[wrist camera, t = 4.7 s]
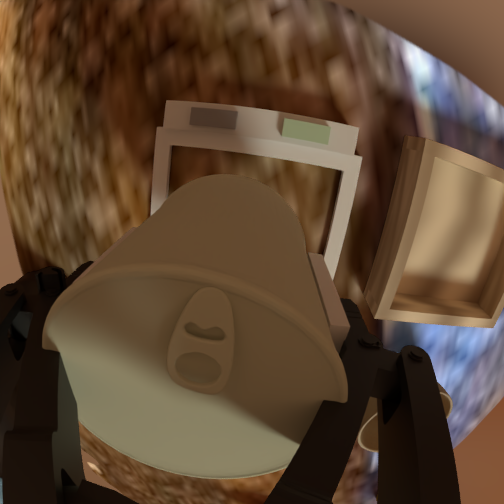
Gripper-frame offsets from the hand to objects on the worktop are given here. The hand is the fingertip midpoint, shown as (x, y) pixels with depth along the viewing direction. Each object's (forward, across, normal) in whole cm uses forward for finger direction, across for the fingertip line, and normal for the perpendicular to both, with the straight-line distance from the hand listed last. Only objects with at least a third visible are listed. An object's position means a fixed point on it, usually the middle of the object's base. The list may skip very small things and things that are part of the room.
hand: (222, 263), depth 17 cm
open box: (+8, +19, +2) cm, 21 cm away
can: (+2, 0, 0) cm, 2 cm away
